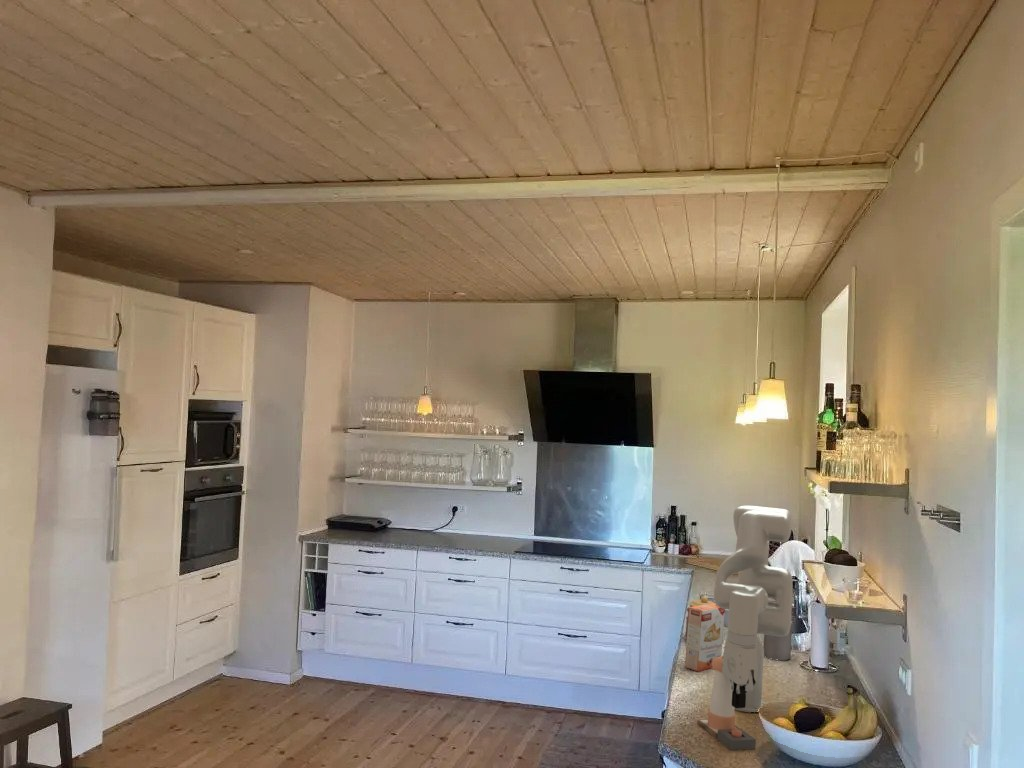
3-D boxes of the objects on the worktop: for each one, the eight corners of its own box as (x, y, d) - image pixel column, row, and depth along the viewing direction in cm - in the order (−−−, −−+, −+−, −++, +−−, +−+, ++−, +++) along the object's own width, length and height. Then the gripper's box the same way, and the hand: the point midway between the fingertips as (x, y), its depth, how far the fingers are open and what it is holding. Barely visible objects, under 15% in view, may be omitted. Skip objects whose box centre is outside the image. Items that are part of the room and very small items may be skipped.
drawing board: (697, 723, 216) (697, 719, 216) (725, 721, 218) (725, 717, 218) (716, 738, 206) (716, 734, 206) (745, 736, 209) (745, 732, 209)
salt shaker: (704, 726, 211) (708, 655, 212) (711, 718, 218) (715, 649, 218) (730, 733, 208) (734, 661, 208) (737, 724, 214) (741, 655, 215)
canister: (706, 649, 290) (709, 601, 290) (678, 640, 299) (680, 594, 300) (725, 643, 298) (728, 598, 299) (697, 635, 308) (699, 590, 309)
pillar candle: (767, 651, 293) (769, 611, 293) (793, 657, 287) (795, 616, 287) (759, 656, 285) (761, 616, 285) (786, 663, 279) (788, 621, 280)
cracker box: (698, 672, 261) (702, 610, 262) (684, 667, 265) (687, 606, 266) (722, 666, 270) (725, 606, 271) (707, 661, 275) (711, 602, 275)
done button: (729, 736, 204) (729, 728, 204) (737, 735, 205) (738, 728, 205) (734, 740, 202) (735, 732, 202) (743, 740, 203) (743, 732, 203)
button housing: (717, 739, 206) (717, 729, 206) (740, 737, 208) (740, 728, 208) (731, 750, 199) (732, 740, 199) (755, 749, 201) (755, 739, 201)
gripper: (714, 629, 211) (711, 696, 211) (745, 648, 197) (742, 720, 197) (738, 628, 213) (735, 694, 213) (771, 647, 199) (767, 717, 199)
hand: (738, 706), depth 205 cm, fingers closed
